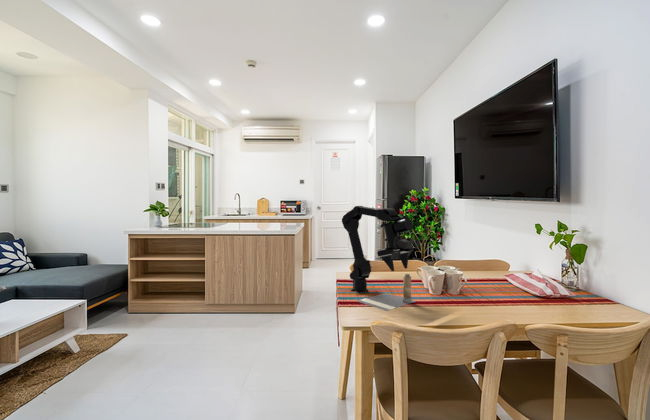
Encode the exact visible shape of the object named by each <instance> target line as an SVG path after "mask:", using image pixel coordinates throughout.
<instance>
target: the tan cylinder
mask: <svg viewBox="0 0 650 420" xmlns="http://www.w3.org/2000/svg"><path fill="white" fill-rule="evenodd" d="M402 284H403V287H402V288H403V289H402V290H403V291H402V292H403V293H402V294H403V295H402V297H403V302H404V303H410V304H412V303H411V300H412V276H411V275H410V274H409V273H404V275H403V283H402Z"/></svg>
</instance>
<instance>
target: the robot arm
mask: <svg viewBox="0 0 650 420" xmlns="http://www.w3.org/2000/svg"><path fill="white" fill-rule="evenodd" d="M363 215H364V216H369V217H373V218H376V219H377V220H380V221H382V223H381V224H380V226H379V227H380V228H384V234H385V238H384V242H386V243H387V247H386V248H380V249H378V250H377V252H376V254H377V257H379V258H380V259H381V260H383V262H384V263H385V264H386V265H387V267H388V268H389V269H390V271H391V272H394V271H395V266H394V260H393V258H394V256H395V253H398V257H399V259H400V261H401V264H402V266H403V268H404V269H408V265H409V264H408V263H409V257H410V255H411V254H412V253H413V251H414V247H413V245H414V244H415V243H414V240H413V239H414V238H413V237H407V238H406V239H403V237H402V236H401V235H400V234H404V233H407V232H410V231H412V230H413V228H414V224H413V221H412V220H411V219H410V218H409V216H408V215H402V216H401V215H399V214H398V213H397V212H396V209H395V208H393V207H392V208H391V207H389V208H374V207H368V206H363V205H356V206H354V207H352V209H350V210H349V211H348V212H346V213H345V214H344V215H343V216H342V218H341V223H342V225H343V228H344V229H345V231H346V232H347V233H348V238H349V241H350V245H351V249H352V255H353V258H354V262H353V265H352V267H353V269H352V271H351V272H350V274H349V277H350V278H349V279H350V280H352V288H351V289H352V290H353V291H352V290H351V291H352V292H355V291H357V292H356V293H358V292H361V293H364V292H363V291H365V292H368V291H369V289H368V288H367V287H368V284H367V279H369V278H370V274H371V272H372V266H371V265H372V264H371V261H370V260H369V259H366V258H365V255H364V250H363V246H362V243H361V238H360V234H359V231H358V230H359V226H360V220H361V219H362V217H363ZM367 290H368V291H367Z"/></svg>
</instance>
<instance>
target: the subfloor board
mask: <svg viewBox="0 0 650 420" xmlns="http://www.w3.org/2000/svg"><path fill="white" fill-rule="evenodd" d="M356 302H358V303H361V304H364V305H367V306H370V307H373V308H377V309H380V310H383V311H386V312H388V311H391V310H394V309H397V308H401V307H402V306H407V305H409V304H412V303H415V302H417V300H414V299H411V303H404V302H403V296H399V295H395V294H391V293H386V292H385V293H382V294H377V295H374V296H369V297H366V298H365V297H364V298H362V299H358V300H356Z"/></svg>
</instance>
